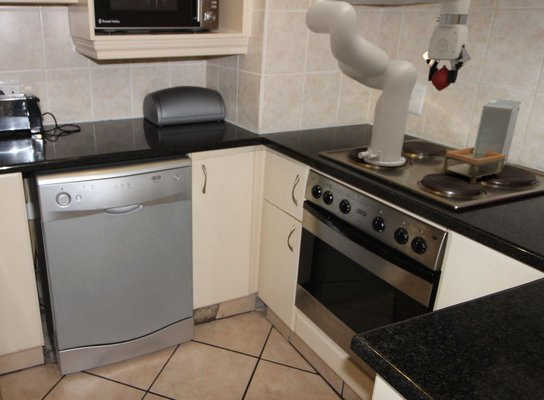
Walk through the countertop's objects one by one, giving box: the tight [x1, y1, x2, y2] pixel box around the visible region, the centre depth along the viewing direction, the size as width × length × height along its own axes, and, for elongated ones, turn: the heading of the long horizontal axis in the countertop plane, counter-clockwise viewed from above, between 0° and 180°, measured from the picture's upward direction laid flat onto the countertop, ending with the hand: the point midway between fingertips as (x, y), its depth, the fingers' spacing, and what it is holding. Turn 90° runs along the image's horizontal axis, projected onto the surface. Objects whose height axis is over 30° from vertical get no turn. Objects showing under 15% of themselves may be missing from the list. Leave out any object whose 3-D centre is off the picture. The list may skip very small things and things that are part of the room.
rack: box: [441, 146, 506, 185], centre depth 141 cm, size 12×10×7 cm
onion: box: [431, 64, 452, 92], centre depth 151 cm, size 6×6×8 cm
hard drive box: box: [473, 98, 522, 176], centre depth 146 cm, size 16×8×20 cm, turn 139°
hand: (441, 81), depth 151 cm, fingers closed on onion, 5 cm apart
